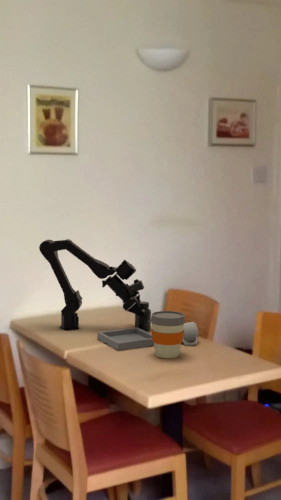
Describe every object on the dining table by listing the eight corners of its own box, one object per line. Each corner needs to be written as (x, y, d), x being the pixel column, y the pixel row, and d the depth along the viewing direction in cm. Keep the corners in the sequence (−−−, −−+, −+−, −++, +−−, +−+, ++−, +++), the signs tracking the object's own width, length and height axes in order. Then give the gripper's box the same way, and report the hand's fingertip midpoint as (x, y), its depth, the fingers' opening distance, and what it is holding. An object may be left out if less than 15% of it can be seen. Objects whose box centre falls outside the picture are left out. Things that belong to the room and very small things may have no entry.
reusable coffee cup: (154, 360, 228) (155, 319, 226) (146, 350, 240) (147, 311, 238) (188, 358, 230) (189, 318, 228) (179, 348, 242) (180, 310, 240)
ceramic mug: (172, 339, 255) (172, 321, 254) (190, 338, 258) (191, 319, 257) (182, 347, 245) (183, 328, 244) (202, 345, 248) (202, 326, 247)
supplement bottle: (150, 332, 265) (151, 304, 264) (134, 332, 265) (134, 304, 264) (150, 328, 272) (151, 301, 271) (134, 328, 272) (135, 300, 271)
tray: (118, 350, 239) (118, 343, 238) (97, 339, 254) (97, 332, 254) (159, 344, 247) (159, 337, 247) (136, 334, 263) (136, 327, 263)
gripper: (131, 278, 257) (158, 305, 257) (134, 270, 275) (159, 296, 276) (111, 297, 258) (138, 324, 259) (116, 288, 277) (141, 313, 277)
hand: (145, 313), depth 268 cm, fingers open, 9 cm apart
